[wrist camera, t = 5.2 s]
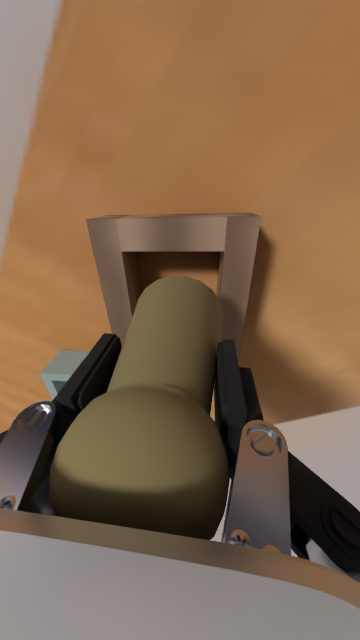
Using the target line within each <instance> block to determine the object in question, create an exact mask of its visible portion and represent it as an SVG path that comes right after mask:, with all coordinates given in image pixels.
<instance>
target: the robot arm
mask: <svg viewBox="0 0 360 640" xmlns="http://www.w3.org/2000/svg"><path fill="white" fill-rule="evenodd" d="M121 349H122V345H121V340H120V337H117V335H116V334H106V333H105V334H103V335H102V337H101V338H100V339H99V341H98V342H97V343H96V345H95V346H94V347H93V349H92V350H91V351H90V352H89V354H88V355H87V356H86V358H85V359H84V360H83V361H82V362H81V364H80V365H79V366H78V368H77V369H76V370H75V372H74V373H73V374H72V376H71V377H70V378H69V379H68V381H67V382H66V383H65V385H64V386H63V387H62V389H61V390H60V391H59V393H58V394H57V395H56V397H55V398H54V399H53V401H52V402H50V401H41V402H37V403H34V404H32V405H30V406H28V407H27V408H25V409H24V410H23V411H22V412H20V413H19V414H18V415H17V417H16V418H15V420H14V421H13V423H12V425H11V426H10V428H9V430H7V431H5V432H3V433H1V434H0V640H360V512H359V511H358V510H357V509H356V508H355V507H354V506H353V505H352V504H351V503H350V502H348V501H347V500H346V499H345V498H344V497H342V496H341V495H340V494H339V493H338V492H336V491H335V490H334V489H333V488H331V487H330V486H329V485H328V484H327V483H326V482H324V481H323V480H322V479H321V478H320V477H319V476H317V475H316V474H315V473H314V472H312V471H311V470H310V469H309V468H307V466H305V465H304V464H303V463H302V462H300V461H299V460H298V459H297V458H296V457H295V456H293V455H292V454H291V453H290V452H289V451H288V448H287V443H286V440H285V438H284V436H283V434H282V433H281V432H280V431H279V430H278V428H276V427H275V426H274V425H272V424H271V423H268V422H266V421H264V420H263V416H262V412H261V408H260V404H259V400H258V396H257V392H256V388H255V384H254V379H253V375H252V372H251V369H250V368H243V367H239V365H238V360H237V354H236V349H235V343H234V340H228V339H222V342H218V344H217V355H216V356H217V364H216V374H215V381H214V401H215V423H216V425H217V428H218V430H219V433H220V435H221V438H222V441H223V444H224V447H225V450H226V454H227V457H228V468H229V477H230V478H231V485H230V491H229V498H228V503H227V509H226V515H225V521H224V527H223V533H222V539H221V542H216V541H210V540H204V539H198V538H191V537H185V536H179V535H173V534H166V533H160V532H154V531H148V530H141V529H135V528H128V527H122V526H115V525H109V524H102V523H96V522H90V521H83V520H77V519H70V518H64V517H57V515H56V513H55V511H54V509H53V508H52V506H51V504H50V498H49V485H50V468H51V465H52V462H53V459H54V456H55V453H56V450H57V447H58V445H59V443H60V441H61V440H62V438H63V437H64V435H65V433H66V432H67V430H68V428H69V427H70V425H71V424H72V423H73V421H74V420H75V419H76V417H77V416H78V415H79V413H80V412H81V411H82V410H83V409H84V408H85V407H86V406H87V405H88V404H89V403H90V402H91V401H92V400H93V399H95V398H97V397H99V396H101V395H103V394H105V393H107V390H108V387H109V384H110V381H111V378H112V375H113V372H114V369H115V366H116V364H117V361H118V358H119V355H120V352H121ZM291 549H292V550H293V551H294V552H295V554H297V556H298V557H299V558H298V557H294V556H291Z"/></svg>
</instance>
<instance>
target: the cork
mask: <svg viewBox="0 0 360 640" xmlns="http://www.w3.org/2000/svg"><path fill="white" fill-rule="evenodd" d="M222 322H223V310H222V307H221V303H220V300H219V299H218V298H217V296H216V295H215V293H214V292H213V290H212V289H210V288H209V287H207V286H206V285H205V284H203V283H202V282H201V281H198V280H195V279H192V278H189V277H186V276H169V277H165V278H162V279H158V280H156V281H155V282H153V283H152V284H151V285H149V286H148V287H146V288H145V290H144V291H143V293H142V294H141V296H140V297H139V299H138V302H137V305H136V308H135V311H134V314H133V317H132V320H131V323H130V326H129V329H128V331H127V334H126V337H125V340H124V343H123V346H122V349H121V352H120V355H119V358H118V361H117V364H116V366H115V369H114V372H113V375H112V378H111V381H110V384H109V387H108V390H107V393H105V394H103V395H101V396H99V397H97V398H95V399H93V400H92V401H91V402H90V403H89V404H88V405H87V406H86V407H85V408H84V409H83V410H82V411H81V412H80V413H79V415H78V416H77V417H76V419H75V420H74V421H73V423H72V424H71V425H70V427H69V428H68V430H67V432H66V433H65V435H64V437H63V438H62V440H61V441H60V443H59V445H58V447H57V450H56V453H55V456H54V459H53V462H52V465H51V468H50V485H49V498H50V504H51V506H52V508H53V509H54V511H55V513H56V515H57V517H64V518H70V519H77V520H83V521H90V522H96V523H102V524H109V525H115V526H122V527H128V528H135V529H141V530H148V531H154V532H160V533H166V534H173V535H179V536H185V537H191V538H198V539H204V540H210V539H212V538H213V537H214V535H215V533H216V531H217V528H218V526H219V524H220V522H221V520H222V517H223V515H224V511H225V506H226V501H227V494H228V487H229V480H230V479H229V468H228V457H227V454H226V450H225V447H224V444H223V441H222V438H221V435H220V433H219V430H218V428H217V425H216V423H215V422H214V420H213V419H212V418H211V417H210V411H211V403H212V396H213V389H214V381H215V374H216V364H217V356H216V355H217V344H218V342H220V337H221V330H222Z"/></svg>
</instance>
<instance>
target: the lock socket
mask: <svg viewBox="0 0 360 640" xmlns="http://www.w3.org/2000/svg"><path fill="white" fill-rule="evenodd" d="M86 222H87V226H88V230H89V235H90V239H91V244H92V248H93V252H94V257H95V261H96V265H97V270H98V274H99V279H100V283H101V287H102V292H103V296H104V301H105V305H106V309H107V314H108V318H109V323H110V327H111V331H112V334H116V335H117V337H120V340H121V345H122V346H123V343H124V340H125V337H126V334H127V331H128V329H129V326H130V323H131V320H132V317H133V314H134V311H135V308H136V305H137V302H138V299H139V297H140V296H141V290H140V283H139V275H138V267H137V259H136V251H220V257H219V270H218V284H217V298H218V299H219V300H220V303H221V307H222V310H223V322H222V330H221V337H220V342H222V339H228V340H234V343H235V349H236V354H237V357H238V358H239V354H240V347H241V341H242V335H243V329H244V322H245V316H246V310H247V304H248V297H249V291H250V285H251V279H252V272H253V266H254V260H255V253H256V247H257V241H258V235H259V228H260V222H261V216H258V215H255V214H252V213H219V214H163V215H107V216H101V217H96V218H91V219H86Z"/></svg>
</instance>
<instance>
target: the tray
mask: <svg viewBox="0 0 360 640" xmlns="http://www.w3.org/2000/svg"><path fill="white" fill-rule="evenodd" d="M89 352H90V351H69V350H61V351H60V352H59V353H58V354H57V355H56V356H55V357H54V358H53V359H52V360H51V362H50V363H49V364H48V365H47V366H46V367H45V368H44V369H43V370H42V371H41V372H40V375H41V377H42V379H43V381H44V383H45V385H46V387H47V389H48V391H49V393H50V395H51V397H52V399H54V398H55V397H56V395H57V394H58V393H59V391H60V390H61V389H62V387H63V386H64V385H65V383H66V382H67V381H68V379H69V378H70V377H71V376H72V374H73V373H74V372H75V370H76V369H77V368H78V366H79V365H80V364H81V362H82V361H83V360H84V359H85V358H86V356H87V355H88V354H89Z"/></svg>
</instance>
